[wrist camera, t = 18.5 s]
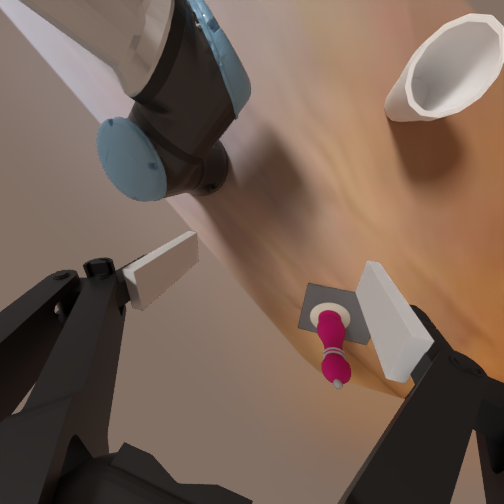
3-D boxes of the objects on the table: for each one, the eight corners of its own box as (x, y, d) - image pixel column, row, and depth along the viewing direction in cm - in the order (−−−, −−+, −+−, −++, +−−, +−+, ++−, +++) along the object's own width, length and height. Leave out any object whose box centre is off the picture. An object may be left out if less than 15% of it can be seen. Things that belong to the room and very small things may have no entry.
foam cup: (451, 70, 31) (532, 18, 20) (418, 135, 36) (470, 123, 24) (390, 63, 33) (432, 10, 21) (365, 126, 37) (390, 110, 26)
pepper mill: (348, 316, 54) (366, 389, 37) (333, 331, 58) (343, 404, 40) (325, 304, 55) (333, 371, 37) (311, 319, 58) (312, 387, 41)
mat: (298, 326, 62) (297, 328, 61) (308, 283, 54) (308, 284, 54) (365, 343, 58) (366, 345, 57) (386, 298, 50) (387, 300, 49)
